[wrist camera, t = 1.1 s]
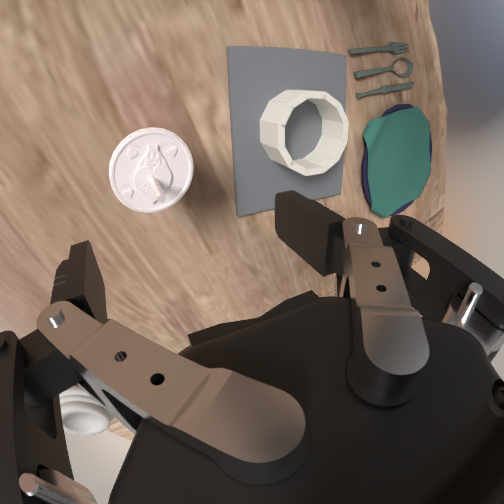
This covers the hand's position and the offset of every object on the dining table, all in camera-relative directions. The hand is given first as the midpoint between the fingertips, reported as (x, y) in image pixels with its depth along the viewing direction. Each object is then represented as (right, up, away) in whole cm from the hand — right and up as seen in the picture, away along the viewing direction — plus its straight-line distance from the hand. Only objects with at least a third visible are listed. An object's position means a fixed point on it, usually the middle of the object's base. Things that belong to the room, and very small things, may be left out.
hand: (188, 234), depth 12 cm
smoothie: (-9, +10, +16) cm, 20 cm away
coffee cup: (-22, -15, +23) cm, 35 cm away
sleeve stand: (+8, +14, +22) cm, 27 cm away
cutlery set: (+25, +19, +30) cm, 43 cm away
